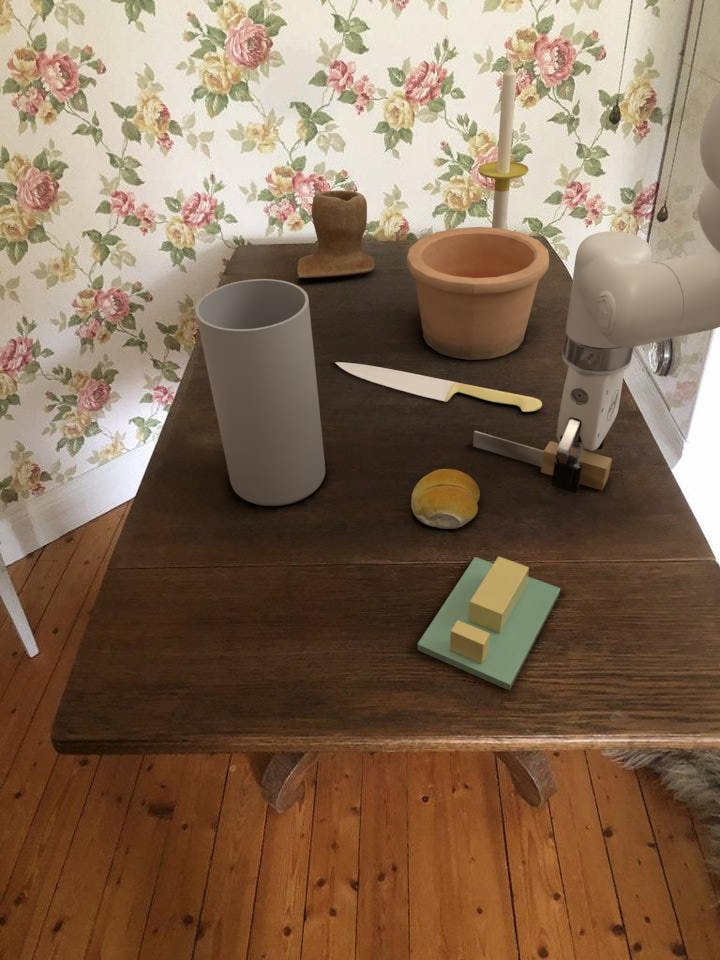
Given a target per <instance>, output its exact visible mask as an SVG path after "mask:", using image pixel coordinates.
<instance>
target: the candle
mask: <svg viewBox="0 0 720 960" xmlns="http://www.w3.org/2000/svg"><path fill="white" fill-rule="evenodd" d="M512 57H513V56H512V55H511V56H510V59H509V61H508V64H507V68H506V70H505V71H504V72H503V73H502V81H501V82H502V83H501V84H502V85H501V99H500V114H499V129H498V146H497V160H496V161H489V162H485V163H484V164H481V165H480V166H479V167H478V168H477V171H478V173H479V175H481V176H483V177H484V178H487V179H488V178H489V179H492V180H494V191H493V192H494V193H493V204H492V205H493V209H492V223H491V228H501V229H506V230H507V225H508V224H507V222H508V221H507V220H508V210H509V197H510V184H511V183H510V182H511V180H514V179H518V178H521V177H523V176H526V175H527V173H529V170H530V169H529V167H528V165H526V164H524V163H523V162H517V161H511V154H512V141H513V129H514V128H513V127H514V114H515V101H516V90H517V89H516V88H517V87H516V86H517V76H518V75H517V72H516V71H515V69H514V65H513V59H512Z"/></svg>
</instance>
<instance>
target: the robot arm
mask: <svg viewBox="0 0 720 960" xmlns="http://www.w3.org/2000/svg"><path fill="white" fill-rule="evenodd" d="M699 155H700V160H701V163H702V167H703V170H704V171H705V173H706V176H707V178H708V180H707V182H706V183H705V185H704V186H703V188H702V190H701V193H700V195H699V199H698V204H697V217H698V223H699V225H700V228H701V231H702V233H703V235H704V236H705V238H706V240H707V241H708V242H709V244H710V245H711V246H712V247H711V248H709V249H708V250H706V251H704V252H701V253H696V254H690V255H685V256H680V257H675V258H670V259H669V258H668V259H665V260H659V261H655V262H652V259H653V251H652V248H651V246H650V244H649V243H648V241H646V240H645V239H644V238H642V237H641V236H639V235H636V234H633V233H630V232H625V231H613V230H612V231H609V230H608V231H601V232H596V233H593V234H590V235H589V236H587V237H585V238H584V239H583V240H582V241H581V242H580V244H579V245H578V247H577V250H576V254H575V261H574V265H573V266H574V267H573V274H572V281H571V289H570V296H569V303H568V311H567V318H566V326H565V333H564V340H563V346H562V353H561V358H562V360H563V362H564V363H565V364H566V366H567V371H566V375H565V376H566V377H565V380H564V382H563V383H564V385H563V390H562V396H561V400H560V405H559V406H560V407H559V412H558V417H557V418H558V419H557V425H556V439H557V441H558V443H559V446H558V449H557V454H556V457H555V463H554V470H553V476H552V477H551V486H552V487H554V488H557V489H560V490H563V491H565V492H566V491H567V492H569V493H573V494H575V493H578V490H579V488H580V484H579V483H580V477H581V471H582V465H580V462H581V459H582V456H583V453H584V451H587V450H588V451H589V452H594V451H595V450H602V449H603V447H604V443H605V440H606V439H605V438H606V436H607V434H608V432H609V431H610V429H611V427H612V426H613V423H614V422H615V420H616V418H617V415H618V413H619V412H618V411H619V407H620V402H621V396H622V388H623V383H624V375H625V371H626V370H627V369H628V368H629V367H630V365H631V363H632V358H633V353H634V348H635V347H641V346H645V345H650V344H654V343H659V342H664V341H667V340H671V339H674V338H680V337H684V336H688V335H693V334H698V333H703V332H707V331H711V330H715V329H719V328H720V88H718V89H717V91H716V93H715V94H714V96H713V97H712V100H711V102H710V103H709V105H708V107H707V110H706V113H705V115H704V119H703V122H702V125H701V131H700V137H699ZM572 447H574V448H577V449H578V452H577V455H576V458H575V457H574V456H572V455H571V449H572Z"/></svg>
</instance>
